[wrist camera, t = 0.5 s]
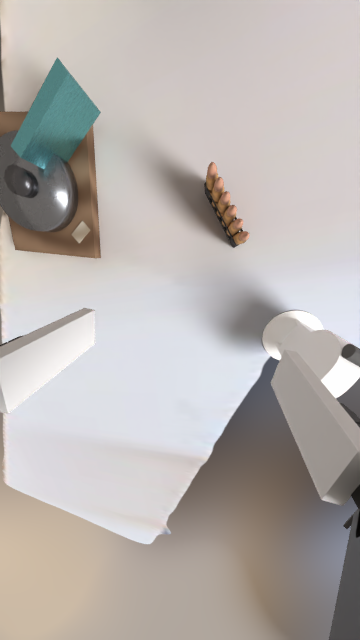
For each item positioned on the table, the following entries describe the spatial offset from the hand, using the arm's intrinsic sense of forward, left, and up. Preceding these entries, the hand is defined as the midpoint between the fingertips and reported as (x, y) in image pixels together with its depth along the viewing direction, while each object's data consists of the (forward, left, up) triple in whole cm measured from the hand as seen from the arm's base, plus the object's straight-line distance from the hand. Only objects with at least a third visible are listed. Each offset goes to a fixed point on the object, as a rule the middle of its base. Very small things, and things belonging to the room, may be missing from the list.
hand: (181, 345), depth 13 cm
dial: (-17, -27, -24) cm, 40 cm away
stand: (-14, -31, -27) cm, 43 cm away
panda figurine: (+9, +19, -27) cm, 34 cm away
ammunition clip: (-12, +2, -27) cm, 30 cm away
